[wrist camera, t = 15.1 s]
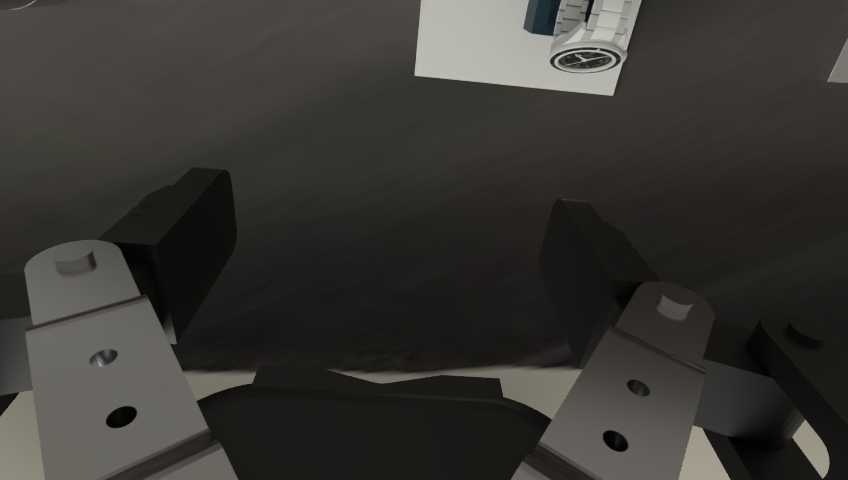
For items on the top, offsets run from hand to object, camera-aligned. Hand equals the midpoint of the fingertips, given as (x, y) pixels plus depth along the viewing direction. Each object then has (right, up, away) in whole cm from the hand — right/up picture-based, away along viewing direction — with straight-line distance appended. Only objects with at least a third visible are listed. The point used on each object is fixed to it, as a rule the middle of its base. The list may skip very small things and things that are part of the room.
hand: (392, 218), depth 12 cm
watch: (+12, +19, +27) cm, 35 cm away
